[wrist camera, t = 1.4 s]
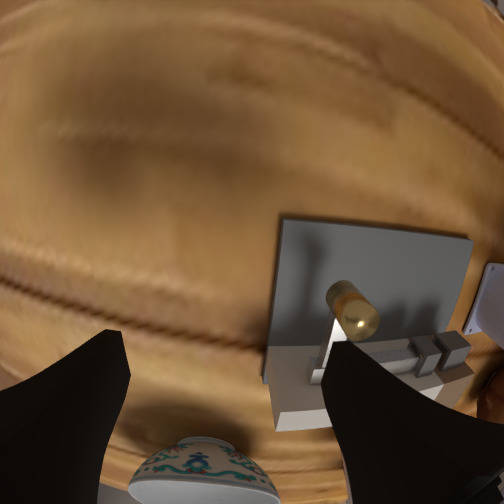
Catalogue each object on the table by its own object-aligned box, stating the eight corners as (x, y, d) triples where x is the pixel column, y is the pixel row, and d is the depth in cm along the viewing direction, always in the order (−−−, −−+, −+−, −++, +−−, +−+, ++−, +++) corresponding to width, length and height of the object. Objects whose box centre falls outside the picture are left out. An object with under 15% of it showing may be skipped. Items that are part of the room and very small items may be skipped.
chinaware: (116, 417, 22) (96, 473, 15) (252, 402, 22) (258, 475, 14) (177, 476, 27) (172, 520, 20) (284, 465, 27) (292, 513, 19)
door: (468, 238, 18) (525, 266, 11) (425, 361, 22) (459, 404, 15) (281, 217, 17) (312, 253, 10) (262, 377, 21) (271, 447, 14)
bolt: (436, 280, 15) (466, 301, 12) (407, 360, 16) (426, 386, 14) (326, 279, 14) (347, 307, 11) (305, 371, 16) (317, 406, 13)
